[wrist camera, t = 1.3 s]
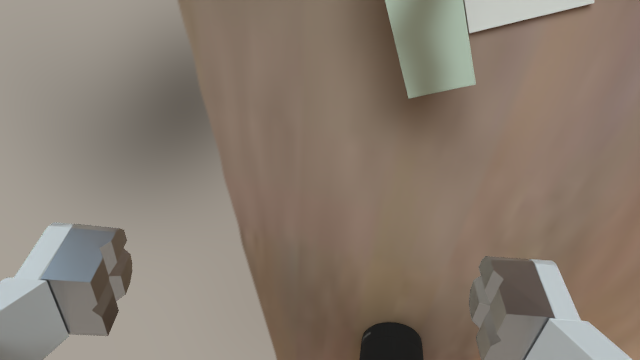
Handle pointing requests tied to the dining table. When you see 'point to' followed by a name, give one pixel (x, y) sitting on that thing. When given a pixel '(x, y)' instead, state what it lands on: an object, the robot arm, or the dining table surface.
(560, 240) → the dining table surface
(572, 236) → the dining table surface
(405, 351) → the pen holder
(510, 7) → the felt mat
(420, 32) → the oak block
